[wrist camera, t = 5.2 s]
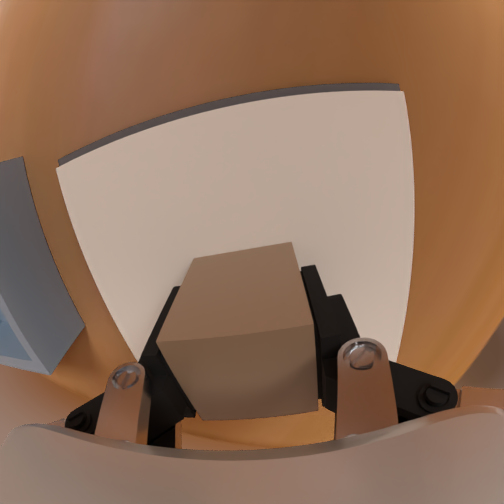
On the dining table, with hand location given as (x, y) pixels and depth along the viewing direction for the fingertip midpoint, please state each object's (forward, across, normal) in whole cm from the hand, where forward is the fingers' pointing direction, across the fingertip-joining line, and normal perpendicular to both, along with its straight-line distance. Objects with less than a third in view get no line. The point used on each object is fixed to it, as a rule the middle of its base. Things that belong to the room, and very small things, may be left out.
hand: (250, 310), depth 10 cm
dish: (+3, +18, -4) cm, 19 cm away
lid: (+2, 0, 0) cm, 2 cm away
